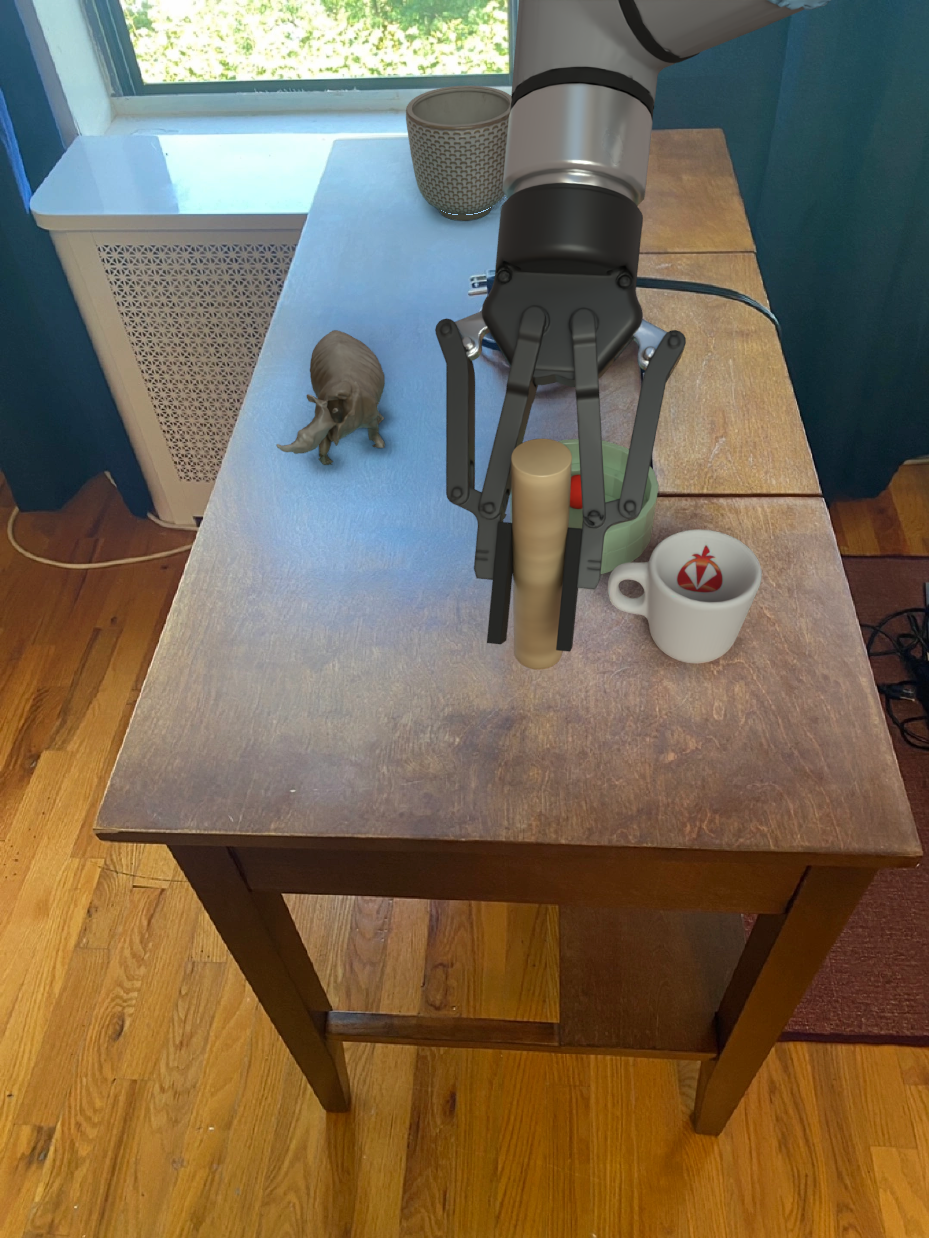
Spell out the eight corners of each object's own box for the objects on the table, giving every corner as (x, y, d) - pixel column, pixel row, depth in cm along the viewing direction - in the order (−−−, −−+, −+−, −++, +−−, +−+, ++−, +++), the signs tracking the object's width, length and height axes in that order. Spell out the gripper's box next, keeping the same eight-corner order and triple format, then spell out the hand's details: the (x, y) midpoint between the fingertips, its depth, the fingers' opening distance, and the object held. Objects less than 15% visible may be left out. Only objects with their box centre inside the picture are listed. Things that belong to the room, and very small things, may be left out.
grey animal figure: (408, 358, 95) (365, 293, 80) (403, 488, 94) (359, 445, 79) (336, 362, 97) (282, 298, 82) (330, 489, 95) (274, 448, 81)
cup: (596, 662, 71) (603, 591, 65) (610, 588, 76) (618, 516, 70) (740, 685, 69) (760, 613, 63) (744, 607, 74) (764, 535, 68)
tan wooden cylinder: (570, 660, 56) (582, 465, 45) (526, 676, 55) (526, 482, 44) (549, 626, 58) (555, 432, 46) (505, 641, 57) (501, 447, 46)
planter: (413, 190, 128) (404, 89, 118) (512, 183, 128) (511, 81, 118) (414, 237, 119) (405, 131, 109) (522, 229, 119) (522, 122, 109)
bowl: (677, 556, 78) (686, 507, 74) (547, 599, 75) (548, 551, 71) (609, 472, 86) (614, 424, 82) (489, 509, 83) (487, 461, 79)
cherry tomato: (601, 510, 81) (603, 484, 79) (570, 519, 80) (572, 493, 78) (585, 490, 83) (587, 464, 81) (555, 499, 82) (556, 473, 80)
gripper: (719, 236, 51) (675, 654, 52) (436, 226, 53) (402, 626, 55) (738, 179, 44) (686, 668, 45) (408, 171, 46) (370, 635, 48)
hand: (530, 644), depth 50 cm, fingers closed on tan wooden cylinder, 3 cm apart
